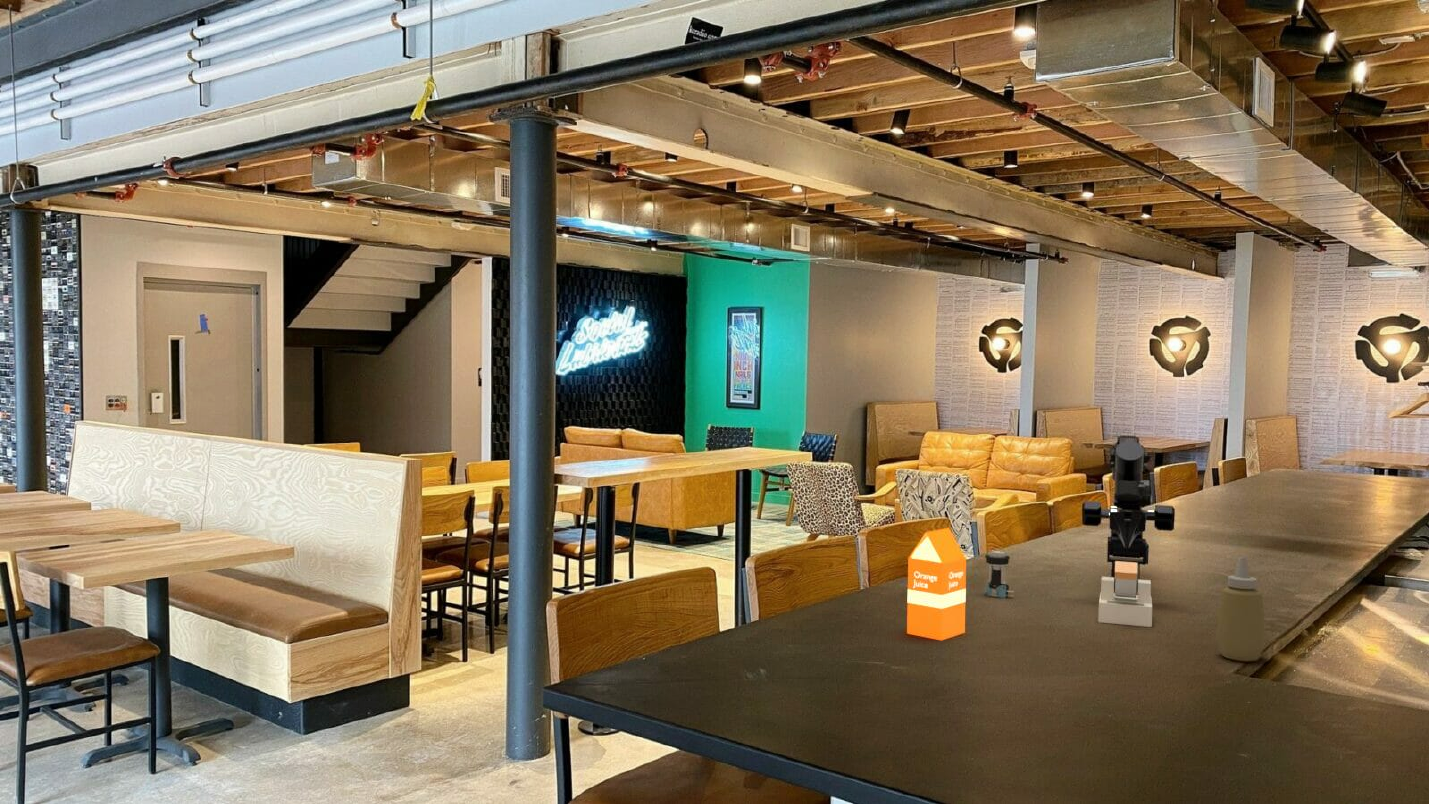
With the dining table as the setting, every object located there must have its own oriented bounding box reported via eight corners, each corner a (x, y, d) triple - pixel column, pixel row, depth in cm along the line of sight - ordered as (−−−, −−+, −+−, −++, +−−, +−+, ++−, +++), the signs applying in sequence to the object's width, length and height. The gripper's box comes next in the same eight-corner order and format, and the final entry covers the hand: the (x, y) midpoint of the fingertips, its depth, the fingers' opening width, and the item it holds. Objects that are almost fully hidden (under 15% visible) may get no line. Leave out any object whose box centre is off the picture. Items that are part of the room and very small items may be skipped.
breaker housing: (1100, 611, 224) (1100, 573, 224) (1151, 615, 220) (1151, 577, 220) (1098, 622, 214) (1099, 582, 213) (1151, 627, 210) (1152, 587, 210)
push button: (1018, 596, 238) (1019, 552, 237) (1008, 600, 233) (1009, 555, 233) (991, 592, 242) (991, 549, 242) (980, 596, 238) (981, 551, 238)
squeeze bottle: (1261, 654, 190) (1264, 555, 190) (1269, 666, 182) (1272, 562, 182) (1212, 650, 193) (1214, 552, 192) (1218, 661, 185) (1220, 559, 185)
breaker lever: (1114, 589, 219) (1115, 561, 213) (1136, 590, 218) (1137, 562, 212) (1114, 599, 217) (1114, 571, 212) (1136, 601, 216) (1137, 573, 210)
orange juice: (965, 632, 204) (967, 529, 203) (941, 640, 197) (943, 534, 197) (930, 625, 209) (932, 525, 209) (905, 633, 203) (907, 529, 202)
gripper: (1083, 464, 232) (1079, 520, 222) (1175, 468, 225) (1176, 526, 216) (1084, 496, 240) (1080, 552, 230) (1173, 501, 233) (1173, 558, 223)
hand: (1126, 546), depth 224 cm, fingers closed
